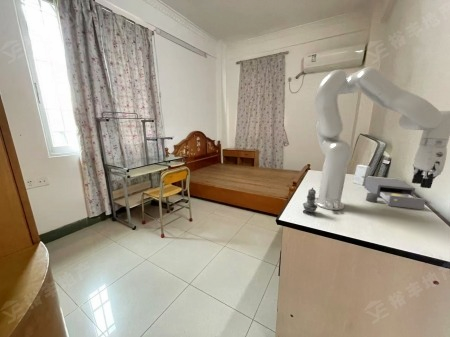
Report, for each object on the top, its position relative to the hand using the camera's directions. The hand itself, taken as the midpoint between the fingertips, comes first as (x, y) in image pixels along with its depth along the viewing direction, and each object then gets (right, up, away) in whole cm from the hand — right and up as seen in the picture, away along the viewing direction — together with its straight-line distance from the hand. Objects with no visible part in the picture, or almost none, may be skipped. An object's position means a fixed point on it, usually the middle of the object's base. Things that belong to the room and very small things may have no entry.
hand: (420, 185), depth 79 cm
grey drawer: (+4, -9, +15) cm, 19 cm away
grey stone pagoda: (-46, -13, +3) cm, 48 cm away
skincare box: (+4, -3, +42) cm, 42 cm away
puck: (-8, -9, +16) cm, 21 cm away
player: (+7, -7, +26) cm, 27 cm away
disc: (+3, -8, +13) cm, 16 cm away
